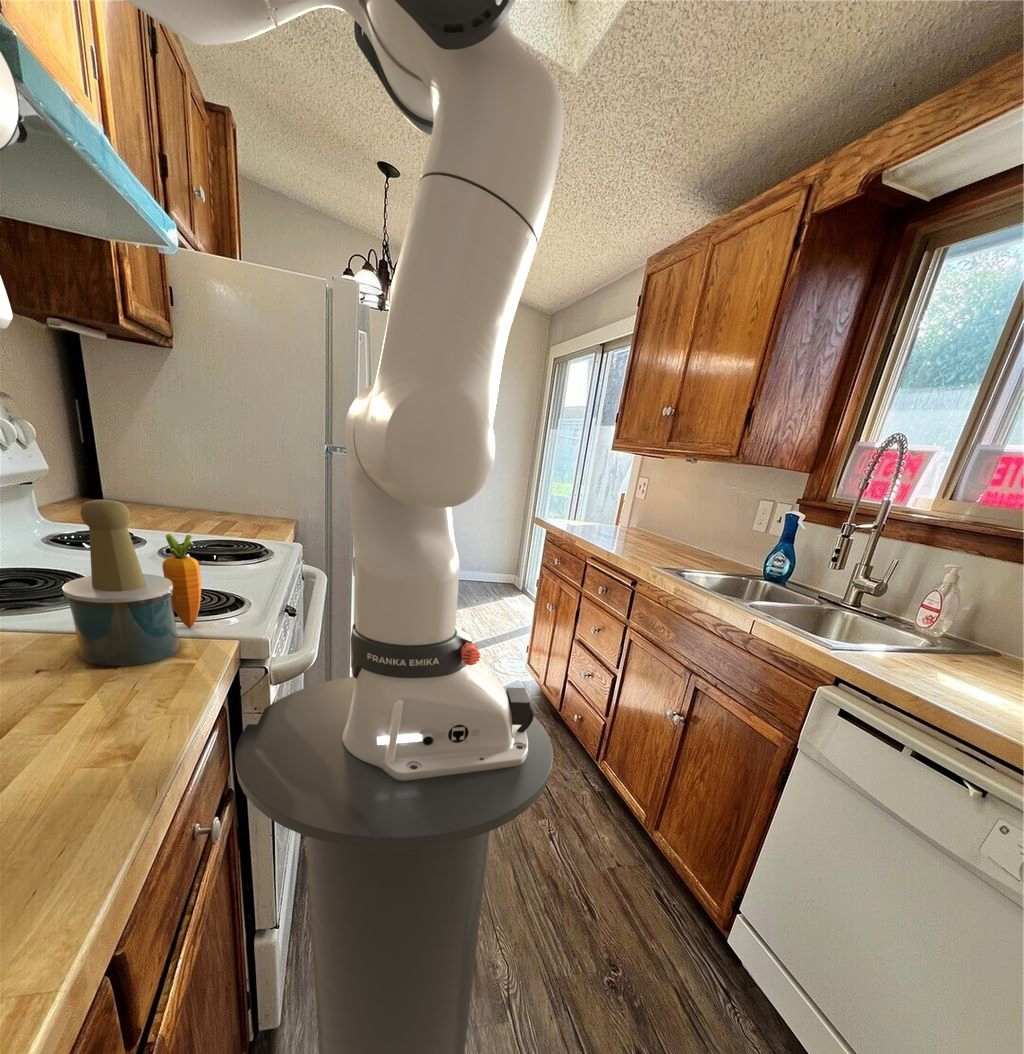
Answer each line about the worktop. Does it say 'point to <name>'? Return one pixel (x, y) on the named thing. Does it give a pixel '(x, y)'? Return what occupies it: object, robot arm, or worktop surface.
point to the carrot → (183, 580)
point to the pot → (123, 622)
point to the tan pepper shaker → (111, 547)
